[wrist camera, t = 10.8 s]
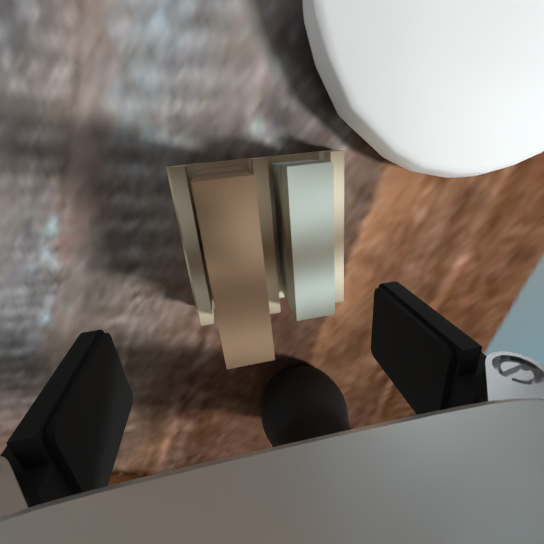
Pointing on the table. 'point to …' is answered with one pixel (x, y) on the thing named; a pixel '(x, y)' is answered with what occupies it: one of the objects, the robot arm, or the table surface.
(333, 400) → the cola bottle
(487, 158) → the plate
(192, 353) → the table surface
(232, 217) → the board
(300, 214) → the rack
